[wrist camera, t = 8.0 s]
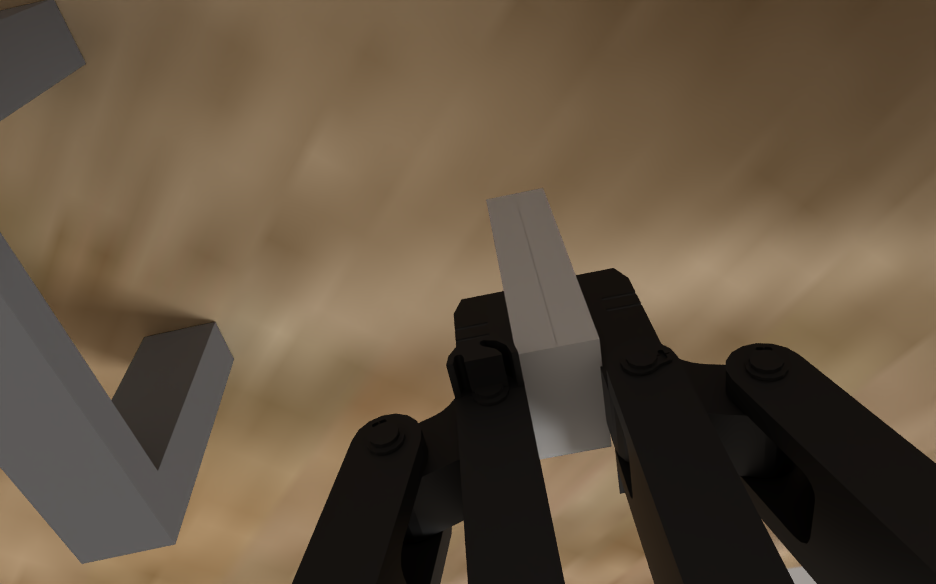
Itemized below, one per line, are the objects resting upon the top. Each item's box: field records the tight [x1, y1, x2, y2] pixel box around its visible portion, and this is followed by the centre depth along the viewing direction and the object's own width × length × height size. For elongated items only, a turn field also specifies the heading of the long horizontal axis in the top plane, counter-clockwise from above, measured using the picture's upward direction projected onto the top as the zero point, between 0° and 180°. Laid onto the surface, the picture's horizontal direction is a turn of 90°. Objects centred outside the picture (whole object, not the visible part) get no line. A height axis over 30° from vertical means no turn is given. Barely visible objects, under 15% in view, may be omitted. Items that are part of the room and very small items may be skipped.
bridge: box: [0, 0, 234, 564], centre depth 21 cm, size 3×14×9 cm, turn 11°
